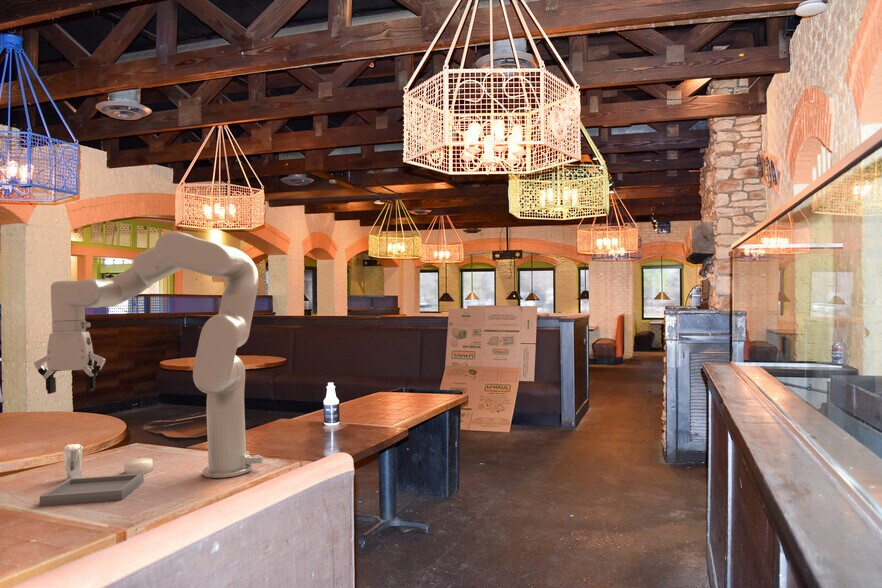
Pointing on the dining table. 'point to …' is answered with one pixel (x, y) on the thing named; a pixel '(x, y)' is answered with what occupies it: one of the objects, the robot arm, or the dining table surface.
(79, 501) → the grey tray
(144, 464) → the cream domed disc
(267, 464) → the dining table surface
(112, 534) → the dining table surface
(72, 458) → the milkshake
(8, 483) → the dining table surface
